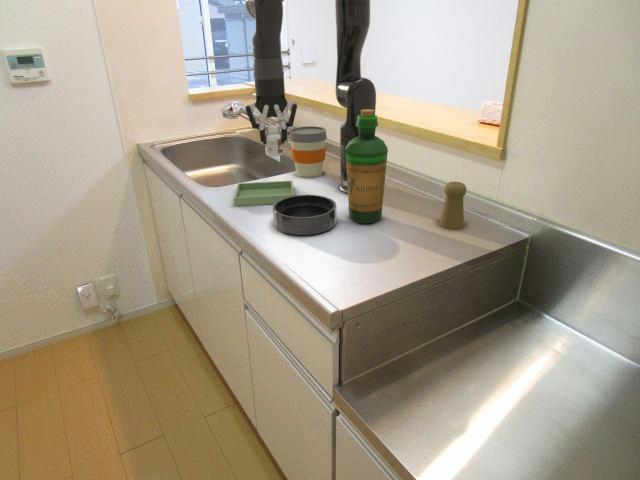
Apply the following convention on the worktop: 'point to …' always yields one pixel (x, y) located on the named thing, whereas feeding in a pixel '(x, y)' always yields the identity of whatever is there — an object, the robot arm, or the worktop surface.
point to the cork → (453, 206)
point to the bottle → (366, 170)
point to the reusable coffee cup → (308, 150)
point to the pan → (304, 214)
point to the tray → (262, 192)
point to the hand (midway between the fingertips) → (274, 142)
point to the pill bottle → (274, 141)
